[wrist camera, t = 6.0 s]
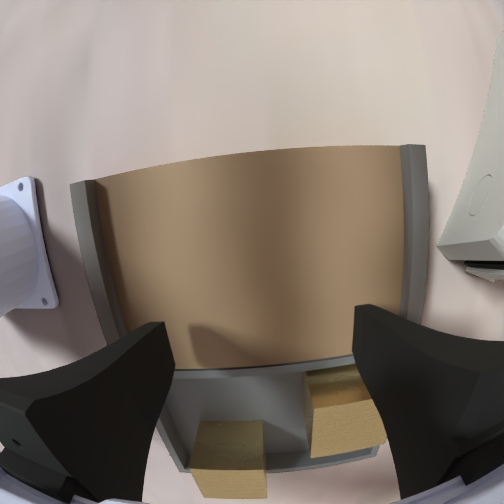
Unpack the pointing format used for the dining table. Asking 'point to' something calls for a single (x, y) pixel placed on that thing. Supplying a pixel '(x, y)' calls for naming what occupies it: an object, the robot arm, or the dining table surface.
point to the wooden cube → (230, 459)
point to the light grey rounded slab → (482, 191)
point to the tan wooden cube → (339, 412)
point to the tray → (248, 411)
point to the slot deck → (257, 250)
